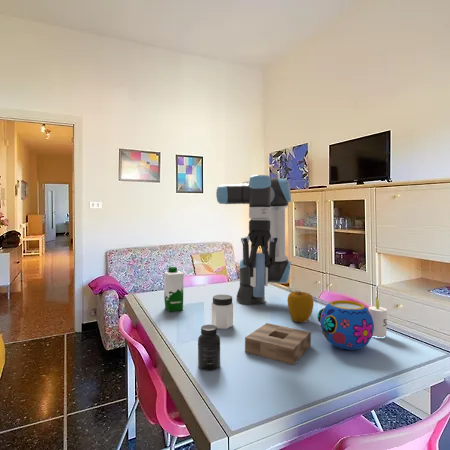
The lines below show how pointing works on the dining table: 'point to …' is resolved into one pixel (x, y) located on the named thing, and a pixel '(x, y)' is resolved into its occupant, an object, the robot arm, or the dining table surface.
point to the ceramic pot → (346, 324)
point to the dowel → (259, 275)
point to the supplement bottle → (209, 348)
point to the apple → (300, 306)
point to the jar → (222, 311)
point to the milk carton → (173, 290)
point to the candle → (379, 319)
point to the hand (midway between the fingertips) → (259, 285)
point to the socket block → (278, 343)
